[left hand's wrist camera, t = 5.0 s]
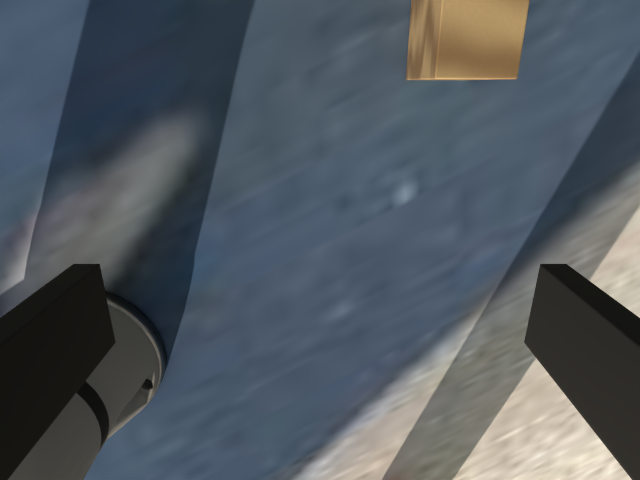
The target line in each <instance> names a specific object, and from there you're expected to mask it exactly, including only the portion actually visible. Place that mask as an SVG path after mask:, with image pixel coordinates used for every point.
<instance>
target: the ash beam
mask: <svg viewBox="0 0 640 480" xmlns="http://www.w3.org/2000/svg"><path fill="white" fill-rule="evenodd" d="M529 1H530V0H412V2H411V16H410V31H409V45H408V59H407V74H406V80H492V79H517V77H518V70H519V64H520V58H521V51H522V45H523V39H524V32H525V26H526V20H527V13H528V7H529Z"/></svg>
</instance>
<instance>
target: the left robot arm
mask: <svg viewBox="0 0 640 480" xmlns="http://www.w3.org/2000/svg"><path fill="white" fill-rule="evenodd" d="M524 343H525V344H526V345H527V347H528V348H529V349H530V350H531V352H532V353H533V354H534V355H535V357H536V358H537V359H538V361H539V362H540V363H541V364H542V366H543V367H544V368H545V369H546V371H547V372H548V373H549V375H550V376H551V377H552V378H553V380H554V381H555V382H556V383H557V385H558V386H559V387H560V389H561V390H562V391H563V392H564V394H565V395H566V396H567V397H568V399H569V400H570V401H571V403H572V404H573V405H574V406H575V408H576V409H577V410H578V411H579V413H580V414H581V415H582V417H583V418H584V419H585V420H586V422H587V423H588V424H589V425H590V427H591V428H592V429H593V431H594V432H595V433H596V434H597V436H598V437H599V438H600V439H601V441H602V442H603V443H604V445H605V446H606V447H607V448H608V450H609V451H610V452H611V453H612V455H613V456H614V457H615V459H616V460H617V461H618V462H619V464H620V465H621V466H622V467H623V469H624V470H625V471H626V472H627V474H628V475H629V476H630V478H631V479H632V480H640V318H639V317H638V316H636V315H635V314H633V313H632V312H631V311H629V310H628V309H627V308H625V307H624V306H623V305H621V304H620V303H618V302H617V301H616V300H614V299H613V298H612V297H610V296H609V295H608V294H606V293H605V292H604V291H602V290H601V289H599V288H598V287H597V286H595V285H594V284H593V283H591V282H590V281H589V280H587V279H586V278H585V277H583V276H582V275H580V274H579V273H578V272H576V271H575V270H574V269H572V268H571V267H570V266H568V265H567V264H540V269H539V274H538V279H537V283H536V288H535V293H534V298H533V303H532V308H531V312H530V317H529V322H528V327H527V332H526V337H525V341H524ZM165 368H166V354H165V349H164V345H163V342H162V340H161V338H160V335H159V334H158V332H157V330H156V328H155V327H154V326H153V324H152V323H151V322H150V321H149V319H148V318H147V317H146V316H145V315H144V314H143V313H142V312H141V311H139V310H138V309H137V308H136V307H134V306H133V305H132V304H130V303H129V302H127V301H125V300H123V299H122V298H120V297H118V296H115V295H113V294H111V293H108V292H105V288H104V283H103V279H102V274H101V269H100V264H73V265H72V266H70V267H69V268H68V269H66V270H65V271H64V272H62V273H61V274H60V275H58V276H57V277H55V278H54V279H53V280H51V281H50V282H49V283H47V284H46V285H45V286H43V287H42V288H41V289H39V290H38V291H36V292H35V293H34V294H32V295H31V296H30V297H28V298H27V299H26V300H24V301H23V302H22V303H20V304H19V305H17V306H16V307H15V308H13V309H12V310H11V311H9V312H8V313H7V314H5V315H4V316H2V317H1V318H0V480H83V479H84V477H85V475H86V474H87V472H88V470H89V468H90V467H91V465H92V463H93V462H94V460H95V458H96V456H97V454H98V453H99V451H100V449H101V448H102V446H103V444H104V443H105V441H106V440H107V439H108V438H109V437H110V436H112V435H113V434H114V433H115V432H116V431H117V430H119V429H120V428H121V427H122V426H123V425H125V424H126V423H127V422H128V421H129V420H130V419H132V418H133V417H134V416H135V415H136V414H137V413H139V412H140V411H141V410H142V409H143V408H144V407H145V406H146V405H147V404H148V403H149V402H150V401H151V399H152V398H153V396H154V395H155V393H156V391H157V389H158V387H159V385H160V383H161V381H162V379H163V377H164V373H165Z"/></svg>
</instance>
